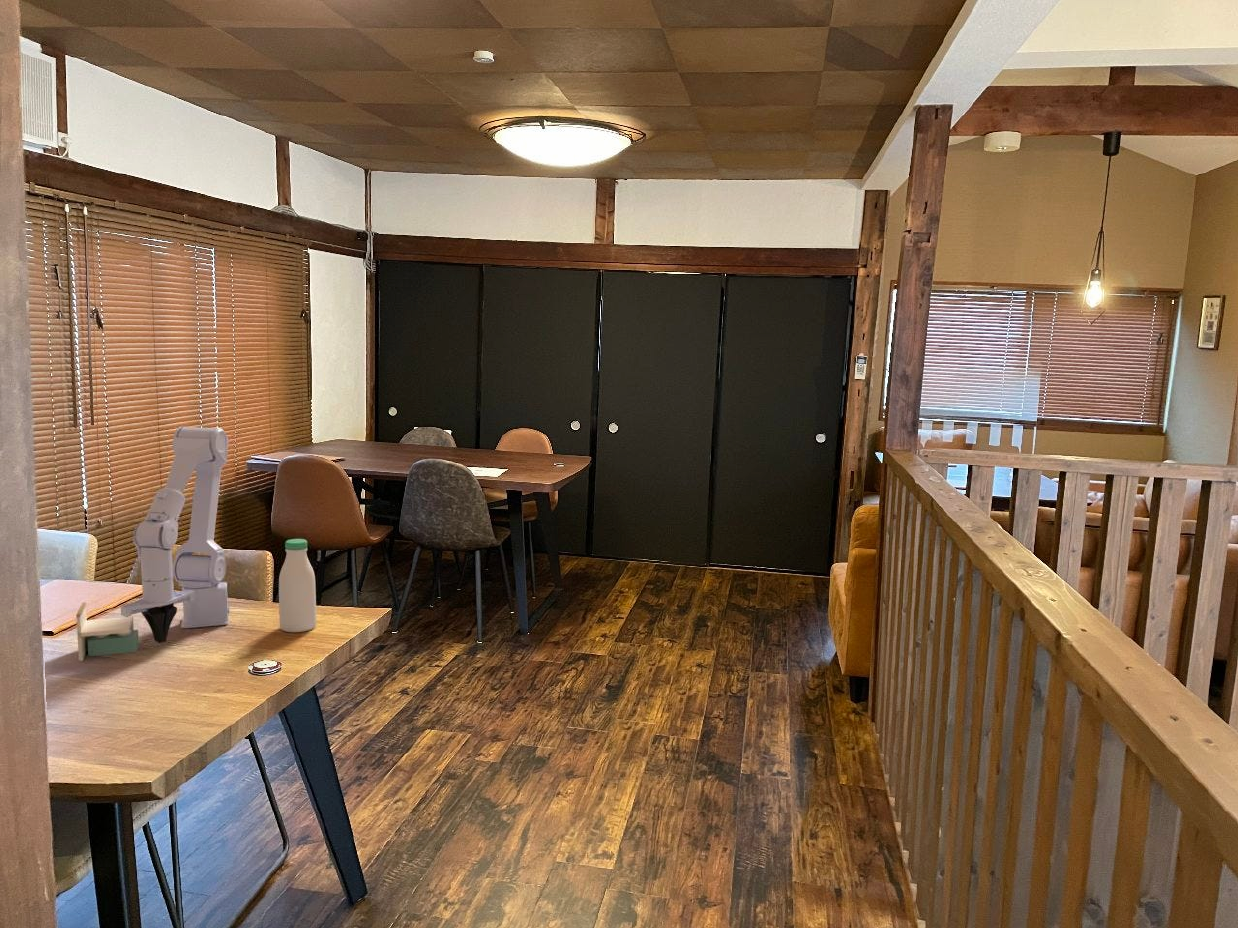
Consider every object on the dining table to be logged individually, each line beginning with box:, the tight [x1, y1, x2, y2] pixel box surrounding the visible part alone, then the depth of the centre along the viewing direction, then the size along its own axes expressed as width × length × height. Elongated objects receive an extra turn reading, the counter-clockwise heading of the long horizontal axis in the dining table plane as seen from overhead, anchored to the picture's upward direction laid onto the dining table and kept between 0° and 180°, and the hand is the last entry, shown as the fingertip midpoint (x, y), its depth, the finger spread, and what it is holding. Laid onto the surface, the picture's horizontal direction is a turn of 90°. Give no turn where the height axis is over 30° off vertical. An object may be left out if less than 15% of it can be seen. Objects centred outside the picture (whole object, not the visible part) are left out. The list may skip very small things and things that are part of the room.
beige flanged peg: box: [75, 602, 135, 662], centre depth 183 cm, size 9×8×10 cm
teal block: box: [87, 629, 140, 657], centre depth 185 cm, size 8×4×4 cm, turn 111°
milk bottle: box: [278, 538, 317, 633], centre depth 200 cm, size 8×8×20 cm
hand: (160, 641), depth 187 cm, fingers closed
